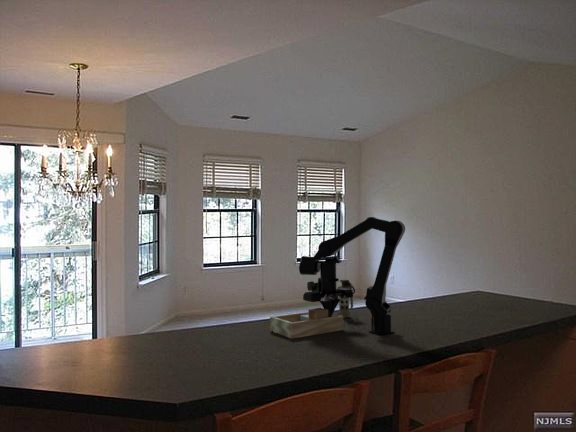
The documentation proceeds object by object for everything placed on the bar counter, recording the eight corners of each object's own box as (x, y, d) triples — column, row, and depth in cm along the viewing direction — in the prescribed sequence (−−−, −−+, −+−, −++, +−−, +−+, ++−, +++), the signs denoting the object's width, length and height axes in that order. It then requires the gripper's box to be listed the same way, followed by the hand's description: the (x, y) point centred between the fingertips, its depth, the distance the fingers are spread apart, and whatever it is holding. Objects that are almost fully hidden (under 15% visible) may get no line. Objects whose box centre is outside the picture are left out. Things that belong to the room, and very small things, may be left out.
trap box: (343, 329, 181) (343, 315, 181) (291, 338, 169) (291, 323, 169) (319, 323, 193) (319, 310, 193) (270, 330, 181) (270, 316, 181)
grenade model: (346, 319, 200) (345, 281, 200) (336, 316, 206) (335, 279, 206) (359, 317, 203) (358, 280, 203) (348, 315, 209) (348, 278, 209)
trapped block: (317, 328, 186) (317, 315, 186) (308, 329, 183) (308, 317, 183) (309, 326, 189) (309, 314, 189) (300, 328, 186) (300, 315, 186)
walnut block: (328, 323, 180) (328, 309, 180) (316, 325, 177) (316, 311, 177) (320, 321, 184) (319, 307, 184) (308, 323, 182) (308, 309, 182)
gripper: (335, 271, 195) (335, 312, 195) (294, 275, 185) (295, 318, 185) (353, 274, 186) (354, 317, 186) (311, 278, 176) (312, 323, 176)
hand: (328, 318), depth 183 cm, fingers closed
